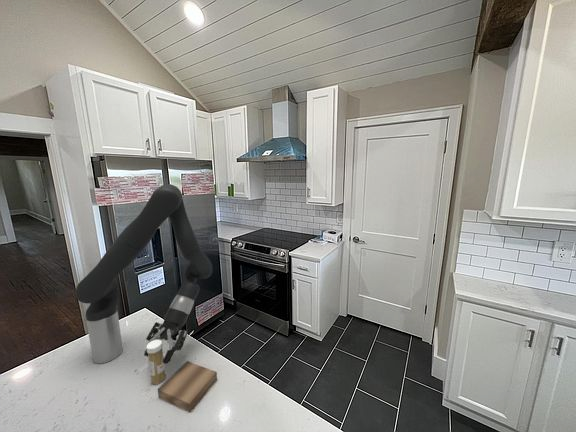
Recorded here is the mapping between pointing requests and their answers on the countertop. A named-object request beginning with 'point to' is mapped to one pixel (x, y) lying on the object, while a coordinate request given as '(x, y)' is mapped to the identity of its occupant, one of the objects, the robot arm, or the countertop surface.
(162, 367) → the sprinkles bottle
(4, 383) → the countertop surface
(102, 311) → the robot arm
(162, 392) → the walnut dock
